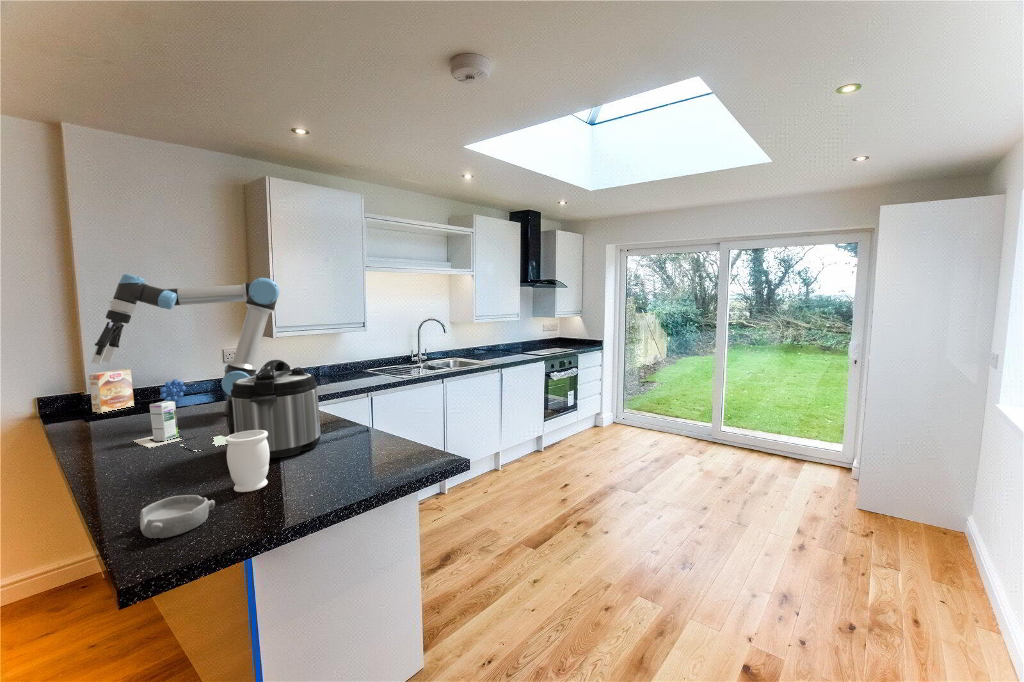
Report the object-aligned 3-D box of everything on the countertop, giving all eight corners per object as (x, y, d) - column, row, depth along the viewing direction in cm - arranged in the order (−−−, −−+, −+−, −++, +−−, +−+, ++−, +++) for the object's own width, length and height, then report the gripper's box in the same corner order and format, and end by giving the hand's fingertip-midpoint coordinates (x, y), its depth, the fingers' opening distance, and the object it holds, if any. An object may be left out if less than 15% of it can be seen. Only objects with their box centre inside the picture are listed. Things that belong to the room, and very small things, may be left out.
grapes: (185, 398, 257) (183, 377, 256) (187, 400, 252) (185, 378, 251) (159, 402, 249) (157, 380, 248) (161, 404, 244) (159, 381, 243)
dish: (160, 546, 100) (158, 524, 100) (124, 534, 106) (122, 513, 106) (226, 517, 113) (224, 497, 113) (190, 507, 119) (189, 488, 119)
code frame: (181, 431, 191) (181, 430, 191) (198, 437, 182) (198, 435, 182) (133, 441, 178) (132, 440, 178) (149, 448, 169) (148, 447, 169)
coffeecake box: (101, 413, 226) (97, 374, 224) (92, 413, 228) (87, 373, 226) (135, 406, 240) (131, 369, 238) (125, 406, 242) (122, 368, 240)
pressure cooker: (284, 433, 184) (278, 354, 181) (340, 440, 173) (335, 355, 170) (210, 459, 156) (202, 365, 153) (272, 468, 146) (265, 368, 143)
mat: (220, 436, 182) (220, 435, 182) (238, 441, 174) (238, 440, 174) (179, 446, 171) (179, 445, 171) (196, 452, 163) (196, 451, 163)
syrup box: (165, 441, 177) (162, 404, 175) (152, 441, 178) (149, 403, 176) (179, 437, 182) (175, 400, 181) (166, 436, 183) (163, 400, 182)
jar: (241, 480, 136) (237, 430, 135) (277, 478, 137) (274, 428, 136) (221, 495, 126) (217, 441, 124) (261, 493, 127) (257, 439, 125)
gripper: (117, 310, 197) (98, 359, 194) (99, 306, 175) (78, 361, 172) (138, 316, 201) (120, 363, 198) (123, 313, 179) (103, 366, 176)
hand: (100, 362), depth 185 cm, fingers open, 13 cm apart
